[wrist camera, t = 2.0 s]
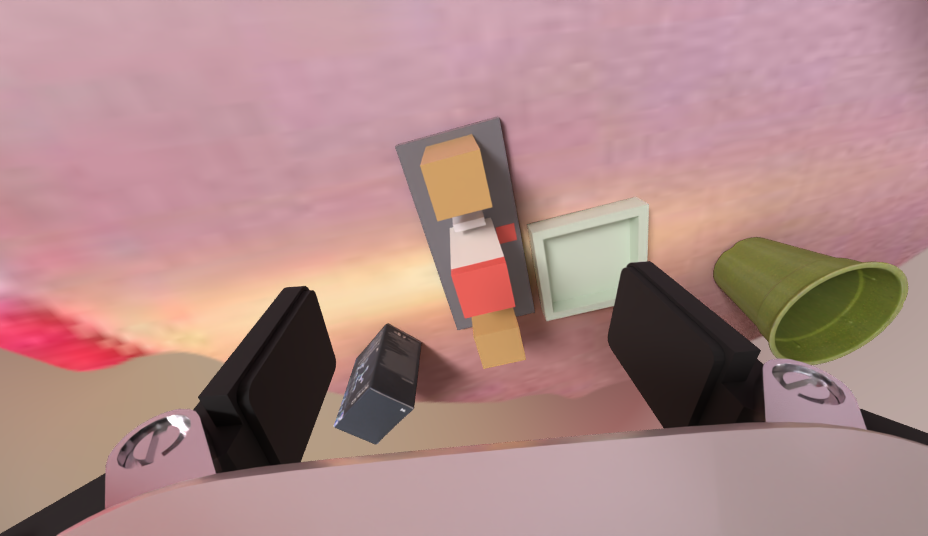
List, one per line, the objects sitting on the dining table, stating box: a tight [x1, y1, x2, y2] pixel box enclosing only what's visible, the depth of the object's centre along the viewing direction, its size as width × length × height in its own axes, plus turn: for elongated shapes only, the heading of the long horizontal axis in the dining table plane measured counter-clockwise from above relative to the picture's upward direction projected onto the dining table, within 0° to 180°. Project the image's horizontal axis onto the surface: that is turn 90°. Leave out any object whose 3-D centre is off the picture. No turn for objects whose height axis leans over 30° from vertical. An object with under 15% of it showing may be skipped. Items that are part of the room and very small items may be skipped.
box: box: [334, 324, 421, 444], centre depth 40 cm, size 8×6×11 cm
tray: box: [527, 197, 649, 321], centre depth 38 cm, size 12×12×2 cm
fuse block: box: [395, 117, 535, 369], centre depth 33 cm, size 10×23×9 cm, turn 14°
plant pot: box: [714, 237, 908, 365], centre depth 36 cm, size 12×12×11 cm
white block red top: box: [450, 218, 516, 318], centre depth 32 cm, size 4×4×10 cm
